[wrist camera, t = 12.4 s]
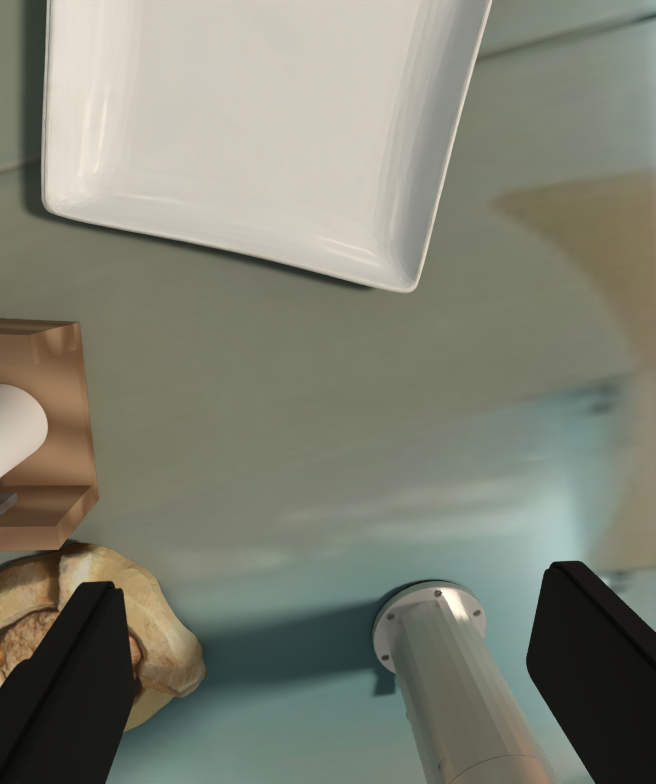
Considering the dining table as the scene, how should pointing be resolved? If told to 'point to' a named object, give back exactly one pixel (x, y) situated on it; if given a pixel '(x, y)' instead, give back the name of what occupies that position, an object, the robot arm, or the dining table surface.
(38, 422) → the can
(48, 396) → the holder
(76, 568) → the ashtray
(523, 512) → the dining table surface
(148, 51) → the square plate
